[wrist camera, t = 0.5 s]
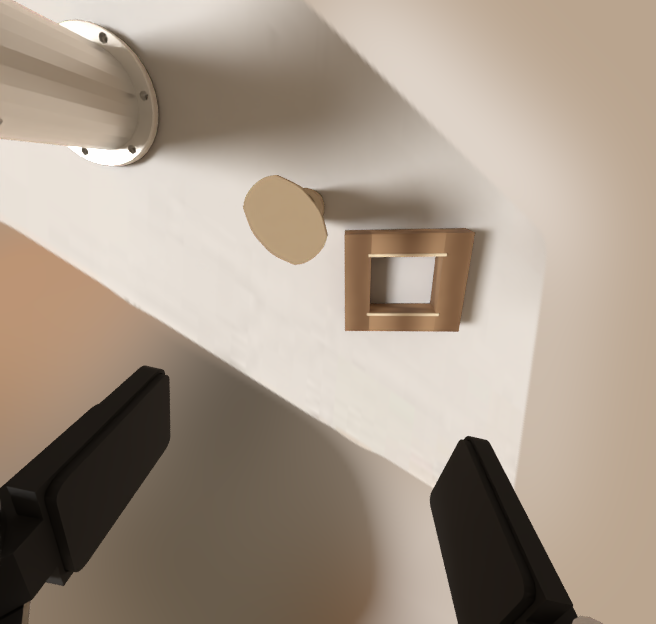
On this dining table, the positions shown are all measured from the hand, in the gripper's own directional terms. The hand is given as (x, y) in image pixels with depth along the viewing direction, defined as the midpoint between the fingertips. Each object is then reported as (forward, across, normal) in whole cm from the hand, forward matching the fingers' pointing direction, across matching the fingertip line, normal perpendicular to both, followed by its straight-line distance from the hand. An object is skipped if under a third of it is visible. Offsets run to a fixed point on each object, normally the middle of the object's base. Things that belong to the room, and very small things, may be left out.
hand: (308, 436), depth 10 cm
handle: (+30, +5, -4) cm, 31 cm away
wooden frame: (+30, -8, +2) cm, 31 cm away
